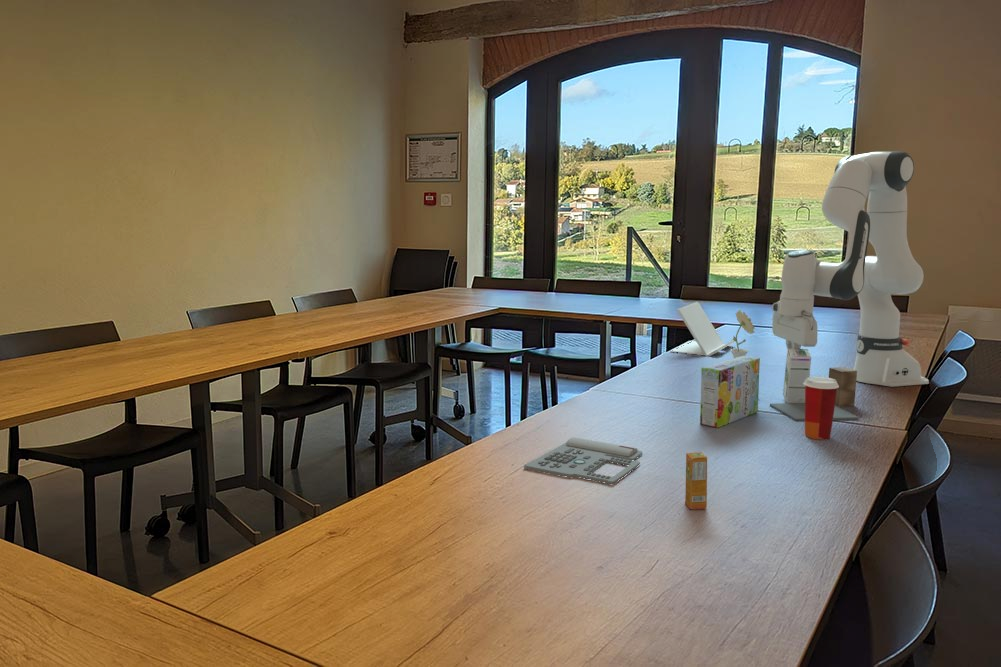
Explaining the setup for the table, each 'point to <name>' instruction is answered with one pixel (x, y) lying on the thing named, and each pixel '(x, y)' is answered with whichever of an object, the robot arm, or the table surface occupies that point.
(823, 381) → the paper cup
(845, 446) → the table surface
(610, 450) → the office telephone
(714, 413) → the snack box
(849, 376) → the walnut block
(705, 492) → the supplement box
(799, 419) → the mat
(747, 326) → the flower in vase
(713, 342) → the tablet stand
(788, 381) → the syrup box
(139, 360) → the table surface
